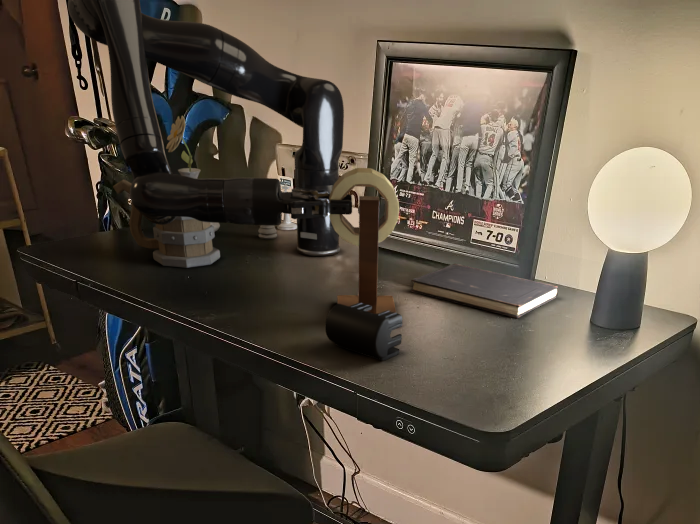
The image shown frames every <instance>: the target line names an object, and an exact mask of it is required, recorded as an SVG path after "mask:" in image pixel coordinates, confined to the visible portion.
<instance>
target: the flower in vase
mask: <svg viewBox="0 0 700 524" xmlns="http://www.w3.org/2000/svg"><path fill="white" fill-rule="evenodd" d="M186 126H187V123H186V119H185V117H184V115H181V117H180V115H178V116H177V117H176V120H175V123H172V124H171V129H170V132H169V133H170V134H169V135H167V138H166V140H167V141H168V143H167V144H166V147H165V149H166V150H168V151H167V152H168V153H173V152H174V151H175V150H176V149H177V148H178V147H179V145H180V142H181V141H182V142H183V145H184V147H185V148H186V150H187V152H186V151H185V150H183V151H182V153H181V156H180V158H181V159H182V160H183V161H184V162H185V163H187V167H183V168H179V169H177V172H178V173H179V175H181V176H186V177H191V178H197V179H199V178H198V177H199V175H200V173H201V169H200V168H195V167H192V164H193V162H194V160H193V155H192V154H191V151H190V149H189V147H188V145H187V143H186V141H185V139H184V138H183V137H184V133H185V130H186ZM187 153H188V154H187ZM210 225H212V226H214V233H215V232H217V231H218V230H219V229H220V227H221V223H211V222H210Z"/></svg>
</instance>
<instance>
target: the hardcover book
mask: <svg viewBox="0 0 700 524" xmlns="http://www.w3.org/2000/svg"><path fill="white" fill-rule="evenodd" d="M410 281H411V282H413V286H412V289H411V290H410V292H411V293H415V294H419V295H423V296H427V297H431V298H435V299H439V300H443V301H446V302H451V303H454V304H458V305H463V306H467V307H471V308H475V309H479V310H482V311H487V312H491V313H495V314H499V315H503V316H506V317H510V318H515V319H519V318H521V317H523V316H524V315H527V314H529V313H530V312H532V311H534V310H536V309H539V308H540V307H542V306H543V305H546V304H547V303H549V302H551V301H553V300H555V299H556V298H557V297H558V295H559V287H558V285H554V284H549V283H544V282H541V281H536V280H531V279H526V278H522V277H518V276H513V275H508V274H505V273H500V272H496V271H491V270H486V269H482V268H477V267H473V266H469V265H464V264H459V263H452V264H450V265H446V266H445V267H441V268H439V269H436V270H433V271H431V272H428V273H426V274H423V275H421V276H418V277H415V278H413V279H411V280H410Z"/></svg>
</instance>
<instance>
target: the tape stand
mask: <svg viewBox="0 0 700 524" xmlns="http://www.w3.org/2000/svg"><path fill="white" fill-rule="evenodd" d="M358 198H359V199H358V204H359V205H358V207H357V213H358V227H359V246H358V282H357V283H358V286H357V287H358V289H357V290H358V291H357V292H358V293H357V294H354V295H353V294H352V295H351V294H345V295H344V294H337V297H336V299H337V301H336V302H337V303H336V304H342V305H346V306H351V305H354V304H357V303H363V304H366V305H370V306H372V309H371V310H368V311H366V312H370V313H373V314H377V313H381V312H384V311H386V310H387V311H388V310H389V311H391V312H394V313H395V312H396V313H397V311H396V305H395V301H394V297H393V295H378V276H379V275H378V270H379V269H378V268H379V265H378V264H379V243H378V233H379V220H380V197H379V196H375V195H374V196H373V195H359V197H358Z"/></svg>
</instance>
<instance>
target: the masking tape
mask: <svg viewBox="0 0 700 524" xmlns="http://www.w3.org/2000/svg"><path fill="white" fill-rule="evenodd" d="M355 187H365V188H367V187H368V188H369V187H370V188H374V189H375V190H376V192H377V193H378V194H379V195H380V196H381V197H382V198H383V199H384V211H383V212H384V213H383V214H384V215H382V217H380V218H379V233H378V244H380V243H382V242H384V241H385V240H386V239H387V238H388V237H389V236H390V235H392V233H393V232H394V230H395V227H396V226H397V223H398V221H399V219H400V217H399V214H400V203H399V200H398V196H397V194H396V191H395V187H394V185H393V183H392V182H391V181H390V180H389V179H388V177H386V176H385V174H383V173H382V172H379V171H377V170H375V169H374V168H371V167H355V168H353V169H351V170H348V171H345V172H344V173H343V174H342V175H340V176H339V179H338V180H337V181H336V182H335V184H334V186H333V188H332V191H331V193H330V196H329V200H342V199H343V198H344V197H345V196H346V195H347V194H350V193H351V191H352V190H353V189H354V188H355ZM329 218H330V220H331V223H332V225H333V228H334V230H335V231H336V233H337V234H338V235H339V238H341V239H342V241H344V242H346V243H349V244H351V245H353V246H355V247H359V226H353V224H352V223H351V222H350V221H349V220H348V219H347V218H346V217H345V215H344V214H330V215H329Z"/></svg>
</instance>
